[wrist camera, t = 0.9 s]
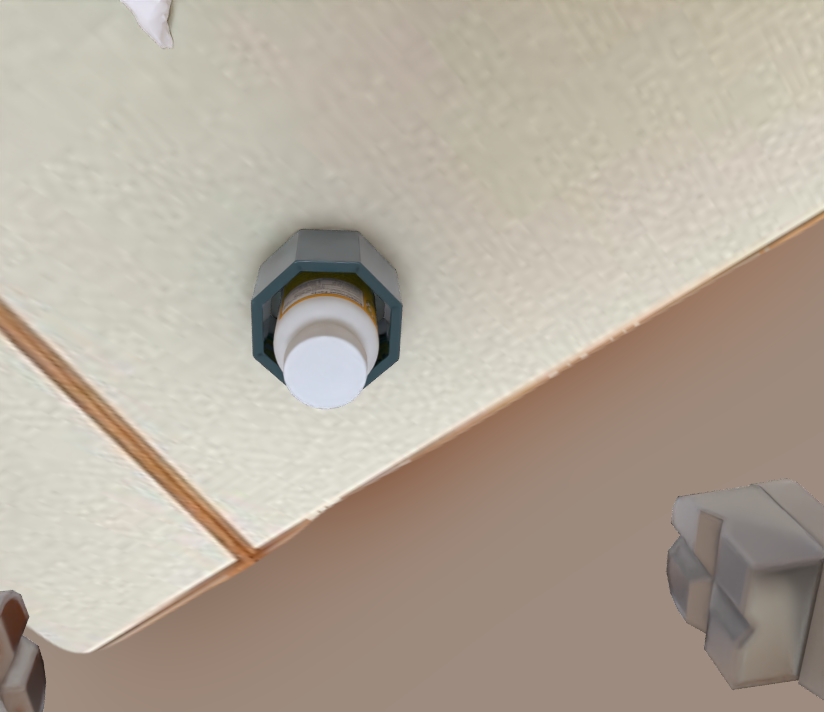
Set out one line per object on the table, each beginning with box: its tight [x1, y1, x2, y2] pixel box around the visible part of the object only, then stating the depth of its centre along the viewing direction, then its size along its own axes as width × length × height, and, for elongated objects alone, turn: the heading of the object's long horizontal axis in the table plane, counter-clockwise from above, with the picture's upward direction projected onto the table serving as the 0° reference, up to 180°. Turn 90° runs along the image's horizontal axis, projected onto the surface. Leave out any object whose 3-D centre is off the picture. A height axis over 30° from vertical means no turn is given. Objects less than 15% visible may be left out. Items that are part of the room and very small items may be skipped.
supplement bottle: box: [273, 271, 379, 409], centre depth 41 cm, size 5×5×10 cm
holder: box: [251, 229, 403, 390], centre depth 43 cm, size 8×8×5 cm
